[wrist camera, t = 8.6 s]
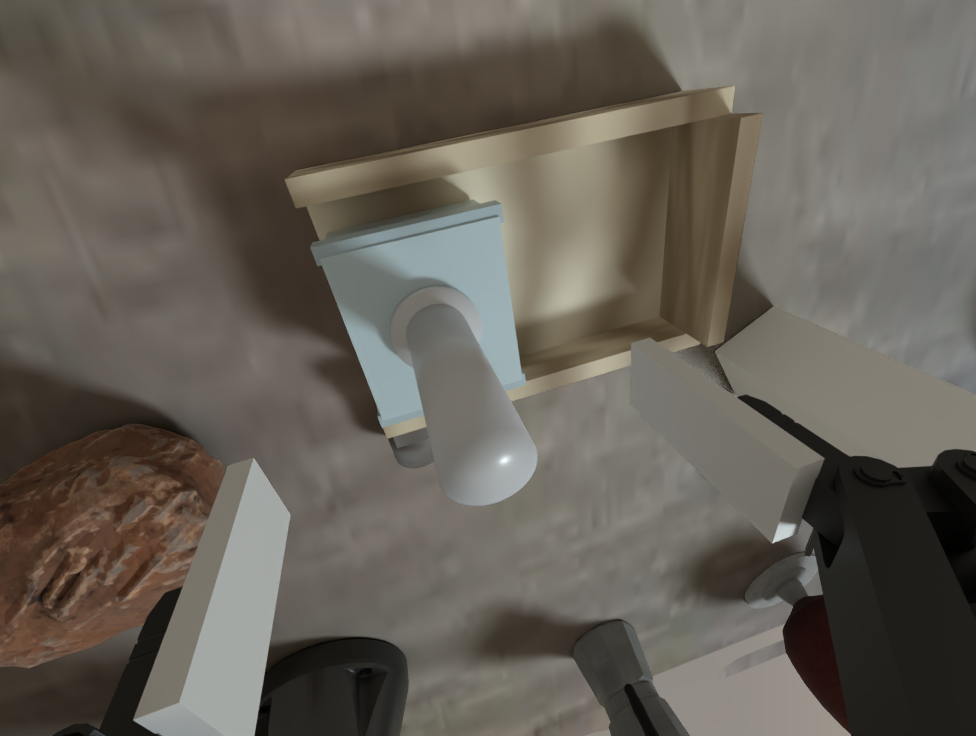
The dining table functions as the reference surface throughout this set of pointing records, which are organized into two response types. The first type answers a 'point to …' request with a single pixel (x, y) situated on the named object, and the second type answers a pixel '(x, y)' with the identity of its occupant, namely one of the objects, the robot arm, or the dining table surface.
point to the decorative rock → (98, 538)
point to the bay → (578, 226)
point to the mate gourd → (803, 628)
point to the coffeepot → (624, 682)
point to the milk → (848, 391)
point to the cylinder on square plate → (438, 338)
